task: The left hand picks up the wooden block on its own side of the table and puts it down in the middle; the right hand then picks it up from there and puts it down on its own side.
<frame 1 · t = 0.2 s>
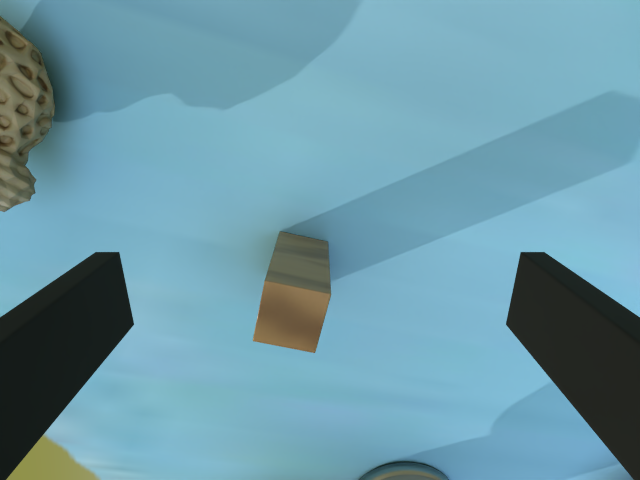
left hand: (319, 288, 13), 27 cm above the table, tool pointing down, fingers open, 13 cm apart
block: (298, 260, 41), on the table
tan lumpy piece: (16, 79, 35), on the table
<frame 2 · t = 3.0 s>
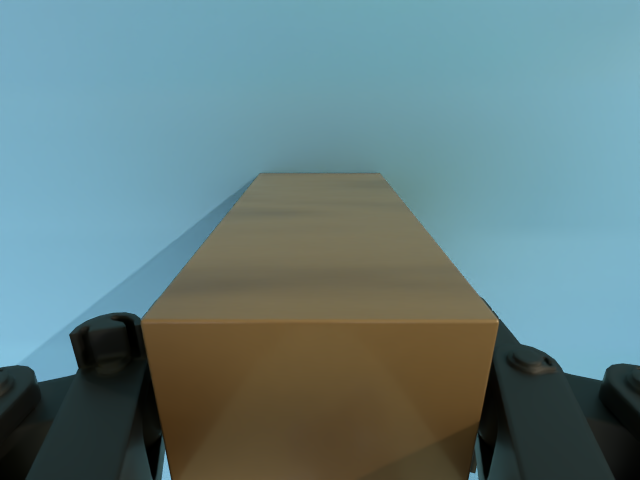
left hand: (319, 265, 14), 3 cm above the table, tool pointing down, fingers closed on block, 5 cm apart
block: (319, 234, 17), on the table, touching left hand
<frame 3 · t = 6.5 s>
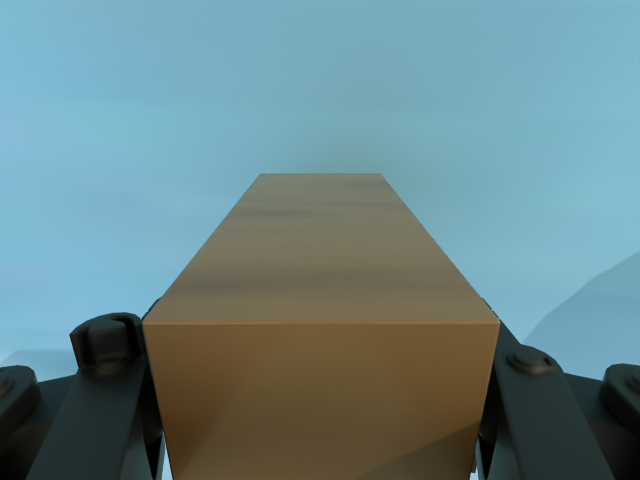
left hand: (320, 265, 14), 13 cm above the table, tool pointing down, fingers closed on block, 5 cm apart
block: (320, 235, 17), point 9 cm above the table, touching left hand
when the left hand's fingers open (5 cm above the table, at t = 9.9 s): block drops 1 cm, on the table.
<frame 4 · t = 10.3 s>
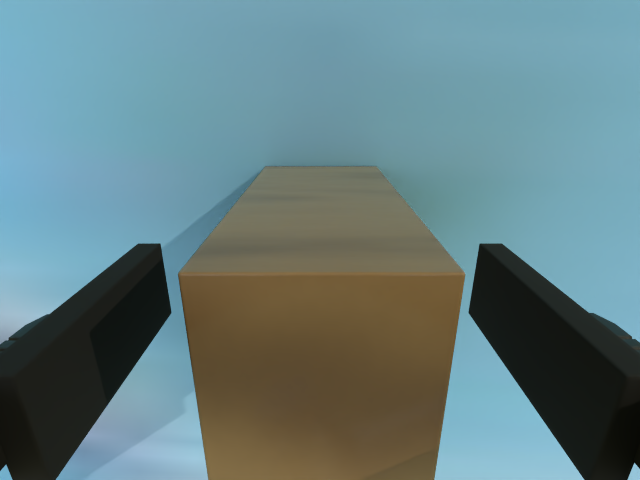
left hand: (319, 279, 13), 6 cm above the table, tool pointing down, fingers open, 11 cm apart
block: (320, 223, 19), on the table
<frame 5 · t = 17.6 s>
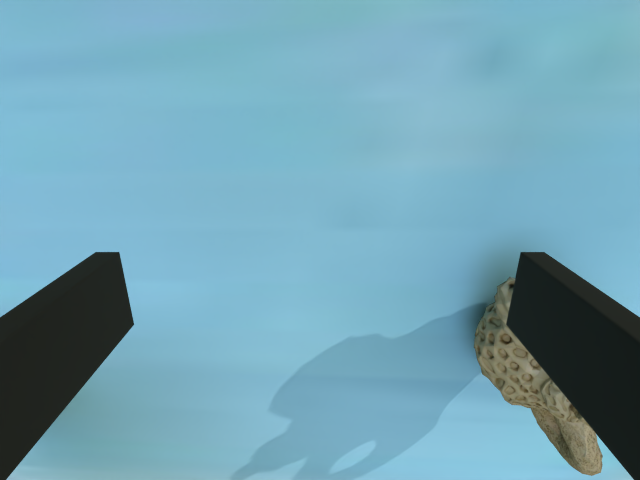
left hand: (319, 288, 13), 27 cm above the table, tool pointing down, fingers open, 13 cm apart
tan lumpy piece: (509, 324, 45), on the table
when the right hand's fingers open (5 cm above the table, at t = 26.3 s): block drops 1 cm, on the table.
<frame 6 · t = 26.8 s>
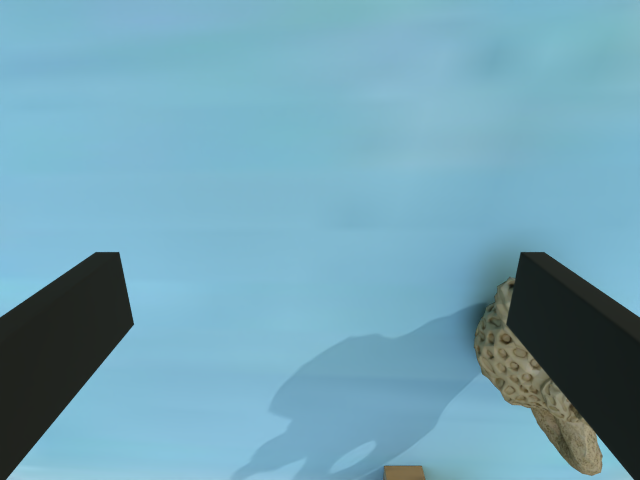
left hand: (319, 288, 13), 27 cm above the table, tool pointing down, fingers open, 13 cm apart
tan lumpy piece: (509, 324, 45), on the table
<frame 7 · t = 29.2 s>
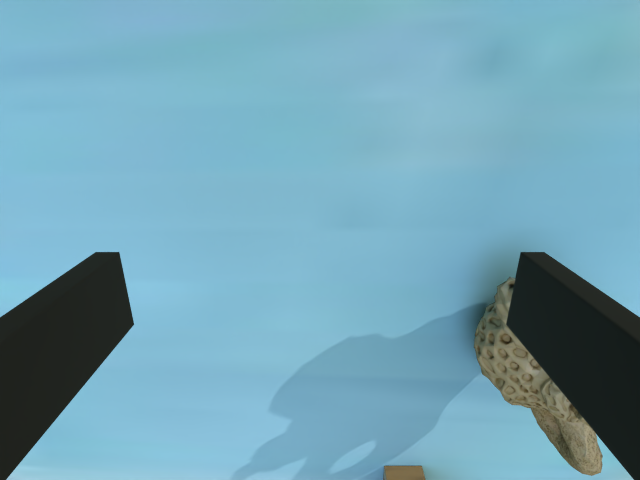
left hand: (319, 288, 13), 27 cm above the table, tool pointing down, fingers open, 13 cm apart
tan lumpy piece: (509, 324, 45), on the table
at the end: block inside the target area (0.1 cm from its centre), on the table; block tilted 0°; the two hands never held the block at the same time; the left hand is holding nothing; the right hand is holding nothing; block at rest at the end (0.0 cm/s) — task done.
